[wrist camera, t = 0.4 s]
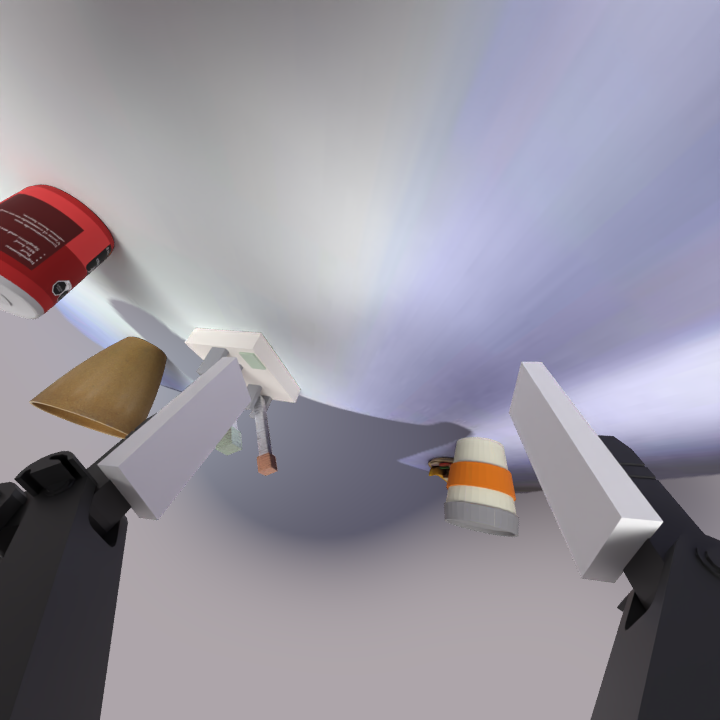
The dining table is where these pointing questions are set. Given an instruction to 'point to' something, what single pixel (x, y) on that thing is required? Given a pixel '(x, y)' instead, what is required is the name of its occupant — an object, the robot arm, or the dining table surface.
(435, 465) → the toy sandwich meal
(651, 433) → the dining table surface
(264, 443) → the lever
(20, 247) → the canned food
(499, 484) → the reusable coffee cup
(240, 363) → the console
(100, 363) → the plant pot
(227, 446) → the lever
